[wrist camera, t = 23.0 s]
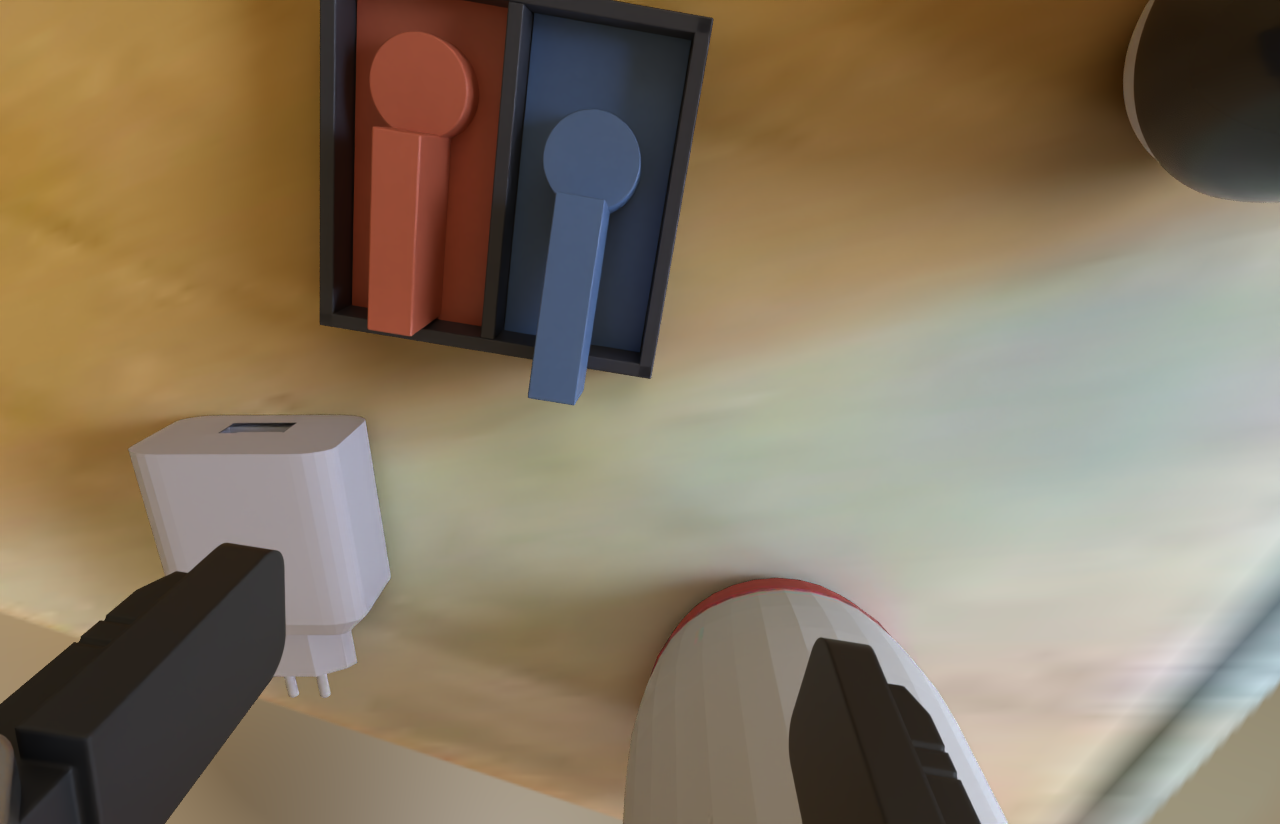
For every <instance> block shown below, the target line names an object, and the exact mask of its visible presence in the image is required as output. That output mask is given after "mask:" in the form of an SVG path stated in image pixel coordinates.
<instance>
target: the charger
mask: <svg viewBox="0 0 1280 824" xmlns="http://www.w3.org/2000/svg"><path fill="white" fill-rule="evenodd" d="M128 450H129V454H130V457H131V460H132V464H133V467H134V471H135V474H136V478H137V481H138V484H139V488H140V491H141V495H142V498H143V501H144V505H145V508H146V512H147V515H148V519H149V522H150V525H151V529H152V532H153V536H154V539H155V542H156V546H157V549H158V553H159V556H160V560H161V563H162V566H163V570H164V573H165V576H167V575H169V574H171V573H173V572H175V571H180V572H186V573H188V572H189V571H191V570H192V569H193V568H194V567H195V566H196V565H197V564H198V563H199V562H201V561H202V560H203V559H204V558H205V557H206V556H207V555H208V554H210V553H211V552H212V551H213V550H214V549H215V548H216V547H218V546H219V545H221V544H223V543H233V544H239V545H246V546H252V547H259V548H265V549H271V550H278V551H279V552H280V553H281V554H282V556H283V559H284V567H285V617H286V639H285V646H284V651H283V654H282V658H281V661H280V663H279V666H278V668H277V670H276V672H275V674H274V676H284V678H285V682H286V687H287V691H288V695H289V696H290V697H296V696H297V695H298V694H299V691H298V687H297V682H296V678H295V677H316V678H317V682H318V687H319V692H320V696H321V697H323V698H326V697H328V696H330V694H331V692H330V688H329V683H328V678H327V674H328V673H332V672H335V671H339V670H342V669H346V668H349V667H350V666H352V665H354V664H356V663H357V658H356V653H355V647H354V642H353V637H352V632H351V629H352V628H354V627H355V626H356V625H357V624H358V623H359V622H360V621H361V620H362V619H363V618H364V617H365V616H366V615H367V614H368V612H369V611H370V609H371V608H372V606H373V605H374V603H375V601H376V600H377V598H378V597H379V595H380V594H381V592H382V591H383V589H384V587H385V586H386V584H387V583H388V581H389V580H390V578H391V574H390V567H389V561H388V555H387V549H386V543H385V537H384V531H383V525H382V518H381V512H380V506H379V500H378V494H377V488H376V482H375V475H374V469H373V463H372V457H371V451H370V445H369V439H368V433H367V426H366V420H365V419H364V418H363V417H358V416H351V415H216V416H200V417H192V418H187V419H182V420H179V421H176V422H174V423H172V424H170V425H169V426H167V427H165V428H163V429H161V430H160V431H158V432H156V433H154V434H152V435H151V436H149V437H147V438H145V439H143V440H142V441H140V442H138V443H136V444H134V445H133V446H131V447H130V448H129V449H128Z"/></svg>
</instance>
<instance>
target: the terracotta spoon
mask: <svg viewBox="0 0 1280 824" xmlns="http://www.w3.org/2000/svg"><path fill="white" fill-rule="evenodd" d="M369 84H370V92H371V96H372V99H373V102H374V104H375V107H376V109H377V111H378V112H379V114H380V115H381V117H382V118H383V119H384V121H385V122H386V123H387V124H388V125H389V126H390V127H391V128H390V127H378V126H374V127H373V128H372V152H371V195H370V237H369V280H368V322H367V328H368V329H369V330H373V331H379V332H386V333H392V334H398V335H404V336H412V335H414V334H415V333H416V332H418V331H419V330H421V329H422V328H423V327H425V326H426V325H427V324H429V323H430V322H432V321H433V320H434V319H436V318H437V317H438V316H440V315H441V305H442V288H443V272H444V255H445V239H446V222H447V206H448V189H449V173H450V156H451V140H452V138H453V137H455V136H457V135H459V134H460V133H461V132H463V131H464V130H465V129H466V128H467V127H468V126H469V124H470V123H471V121H472V120H473V118H474V116H475V113H476V111H477V107H478V102H479V86H478V81H477V77H476V74H475V71H474V69H473V67H472V65H471V64H470V62H469V61H468V59H467V58H466V57H465V55H464V54H463V53H462V52H461V51H460V50H459V49H457V48H456V47H455V46H453V45H452V44H450V43H448V42H446V41H444V40H442V39H440V38H438V37H436V36H434V35H431V34H429V33H425V32H421V31H406V32H402V33H399V34H396V35H394V36H393V37H391V38H389V39H388V40H387V41H385V42H384V43H383V44H382V46H381V47H380V48H379V49H378V51H377V52H376V54H375V56H374V58H373V61H372V64H371V68H370V76H369Z"/></svg>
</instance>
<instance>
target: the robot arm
mask: <svg viewBox="0 0 1280 824" xmlns="http://www.w3.org/2000/svg"><path fill="white" fill-rule="evenodd" d="M285 639H286V617H285V567H284V559H283V556H282V554H281V553H280V552H279V551H278V550H271V549H265V548H259V547H252V546H246V545H239V544H233V543H223V544H221V545H219V546H218V547H216V548H215V549H214V550H213V551H212V552H211V553H210V554H208V555H207V556H206V557H205V558H204V559H203V560H202V561H201V562H199V563H198V564H197V565H196V566H195V567H194V568H193V569H192V570H191V571H189V572H188V573H186V572H180V571H175V572H173V573H171V574H169V575H167V576H165V577H163V578H161V579H159V580H157V581H154V582H152V583H150V584H148V585H146V586H144V587H142V588H140V589H138V590H136V591H135V592H133V593H132V594H131V595H130V596H129V597H128V598H126V599H125V600H124V601H123V602H122V603H120V604H119V605H118V606H117V607H116V608H114V609H113V610H112V611H111V612H110V613H108V614H107V615H106V619H105V620H104V621H99V622H98V623H97V624H95V625H94V626H93V627H92V628H91V629H89V630H88V631H87V632H86V633H85V634H83V635H82V636H81V639H80V641H79V642H78V643H76V642H74V643H73V644H71V645H70V646H69V647H68V648H67V649H66V650H64V651H63V652H62V653H61V654H60V655H58V656H57V657H56V658H55V659H54V660H52V661H51V662H50V663H49V664H48V665H46V666H45V667H44V668H43V669H42V670H40V671H39V672H38V673H37V674H36V675H35V676H33V677H32V678H31V679H30V680H29V681H27V682H26V683H25V684H24V685H23V686H21V687H20V688H19V689H18V690H17V691H15V692H14V693H13V694H12V695H11V696H9V697H8V698H7V699H6V700H5V701H3V703H1V704H0V824H165V823H166V821H167V820H168V819H169V817H170V816H171V815H172V813H173V812H174V810H175V809H176V808H177V807H178V805H179V804H180V802H181V801H182V800H183V798H184V797H185V796H186V794H187V793H188V792H189V790H190V789H191V788H192V786H193V785H194V784H195V782H196V781H197V779H198V778H199V777H200V775H201V774H202V773H203V771H204V770H205V769H206V767H207V766H208V764H209V763H210V762H211V761H212V759H213V758H214V756H215V755H216V754H217V752H218V751H219V750H220V748H221V747H222V746H223V744H224V743H225V742H226V740H227V739H228V738H229V736H230V735H231V733H232V732H233V731H234V729H235V728H236V727H237V725H238V724H239V723H240V721H241V720H242V719H243V717H244V716H245V715H246V713H247V712H248V710H249V709H250V708H251V706H252V705H253V704H254V702H255V701H256V700H257V698H258V697H259V696H260V694H261V693H262V692H263V690H264V689H265V687H266V686H267V685H268V683H269V682H270V681H271V679H272V678H273V676H274V674H275V672H276V670H277V668H278V666H279V663H280V661H281V658H282V654H283V651H284V646H285ZM789 759H790V765H791V770H792V774H793V779H794V784H795V789H796V794H797V799H798V804H799V809H800V814H801V819H802V824H981V822H980V820H979V818H978V816H977V814H976V812H975V810H974V807H973V805H972V803H971V801H970V799H969V797H968V794H967V792H966V790H965V788H964V786H963V784H962V782H961V780H959V779H957V771H956V769H955V767H954V764H953V762H952V760H951V758H950V756H949V754H948V753H947V752H945V745H944V743H943V741H942V739H941V737H940V734H939V732H938V730H937V728H936V726H935V724H934V722H933V719H932V717H931V715H930V714H929V713H928V712H927V711H926V709H925V708H924V707H923V706H922V705H921V704H920V703H919V702H918V701H917V700H916V699H915V697H914V696H913V695H912V694H911V693H910V692H909V691H908V690H907V689H906V688H905V686H901V685H895V684H888V683H887V680H886V678H885V676H884V673H883V671H882V668H881V666H880V664H879V661H878V659H877V656H876V654H875V652H874V650H873V648H872V647H871V646H870V645H867V644H861V643H854V642H848V641H842V640H835V639H829V638H822V637H820V638H818V639H817V640H816V641H815V643H814V645H813V648H812V651H811V654H810V657H809V660H808V664H807V667H806V670H805V674H804V677H803V680H802V683H801V687H800V690H799V693H798V696H797V700H796V703H795V706H794V710H793V713H792V717H791V721H790V728H789Z"/></svg>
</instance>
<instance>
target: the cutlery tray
mask: <svg viewBox="0 0 1280 824" xmlns="http://www.w3.org/2000/svg"><path fill="white" fill-rule="evenodd" d="M712 25H713V18H710V17H705V16H698V15H693V14H687V13H681V12H676V11H670V10H664V9H659V8H653V7H647V6H642V5H636V4H630V3H625V2H619V1H613V0H320V325H325V326H331V327H337V328H343V329H349V330H355V331H361V332H368V333H374V334H380V335H386V336H392V337H398V338H404V339H410V340H416V341H423V342H429V343H435V344H441V345H447V346H453V347H459V348H465V349H471V350H478V351H484V352H490V353H496V354H502V355H508V356H514V357H520V358H526V359H533V354H534V347H535V340H536V333H537V325H538V318H539V311H540V304H541V296H542V289H543V282H544V275H545V267H546V260H547V253H548V246H549V238H550V231H551V224H552V216H553V209H554V202H555V195H556V194H555V193H554V192H553V191H552V189H551V188H550V186H549V184H548V182H547V180H546V177H545V174H544V169H543V150H544V146H545V143H546V140H547V138H548V136H549V134H550V132H551V131H552V129H553V128H554V126H555V125H556V124H557V123H558V122H559V121H560V120H562V119H563V118H564V117H566V116H567V115H569V114H571V113H573V112H576V111H579V110H584V109H598V110H603V111H606V112H609V113H612V114H613V115H615V116H617V117H618V118H620V119H621V120H622V121H623V122H624V123H626V124H627V125H628V127H629V128H630V129H631V131H632V132H633V134H634V136H635V138H636V140H637V142H638V145H639V149H640V155H641V174H640V180H639V184H638V186H637V189H636V191H635V193H634V194H633V196H632V197H631V199H630V200H629V201H628V202H627V203H626V204H625V205H624V206H623V207H621V208H620V209H618V210H617V211H615V212H613V213H610V217H609V224H608V230H607V237H606V244H605V250H604V257H603V264H602V270H601V277H600V283H599V290H598V297H597V303H596V310H595V317H594V323H593V330H592V337H591V343H590V350H589V356H588V363H587V368H588V369H594V370H600V371H606V372H612V373H618V374H624V375H630V376H636V377H642V378H648V379H651V375H652V370H653V364H654V358H655V352H656V347H657V341H658V335H659V329H660V324H661V318H662V312H663V306H664V301H665V295H666V289H667V284H668V278H669V272H670V266H671V261H672V255H673V249H674V243H675V238H676V232H677V226H678V220H679V215H680V209H681V203H682V197H683V192H684V186H685V180H686V174H687V169H688V163H689V157H690V152H691V146H692V140H693V134H694V129H695V123H696V117H697V111H698V106H699V100H700V94H701V88H702V83H703V77H704V71H705V65H706V60H707V54H708V48H709V42H710V37H711V31H712ZM406 31H421V32H425V33H429V34H431V35H434V36H436V37H438V38H440V39H442V40H444V41H446V42H448V43H450V44H452V45H453V46H455V47H456V48H457V49H459V50H460V51H461V52H462V53H463V54H464V55H465V57H466V58H467V59H468V61H469V62H470V64H471V65H472V67H473V69H474V71H475V74H476V77H477V81H478V86H479V102H478V107H477V111H476V113H475V116H474V118H473V120H472V121H471V123H470V124H469V126H468V127H467V128H466V129H465V130H464V131H463V132H461V133H460V134H459V135H457V136H455V137H453V138H452V140H451V156H450V173H449V189H448V206H447V222H446V239H445V255H444V272H443V288H442V305H441V315H440V316H438V317H437V318H436V319H434V320H433V321H432V322H430V323H429V324H427V325H426V326H425V327H423V328H422V329H421V330H419V331H418V332H416V333H415V334H414V335H412V336H404V335H398V334H392V333H386V332H379V331H373V330H369V329H368V328H367V322H368V280H369V237H370V195H371V152H372V128H373V127H374V126H378V127H390V126H389V125H388V124H387V123H386V122H385V121H384V119H383V118H382V117H381V115H380V114H379V112H378V111H377V109H376V107H375V104H374V102H373V99H372V96H371V92H370V84H369V76H370V68H371V64H372V61H373V58H374V56H375V54H376V52H377V51H378V49H379V48H380V47H381V46H382V44H383V43H384V42H385V41H387V40H388V39H389V38H391V37H393V36H394V35H396V34H399V33H402V32H406ZM390 128H391V127H390Z"/></svg>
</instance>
